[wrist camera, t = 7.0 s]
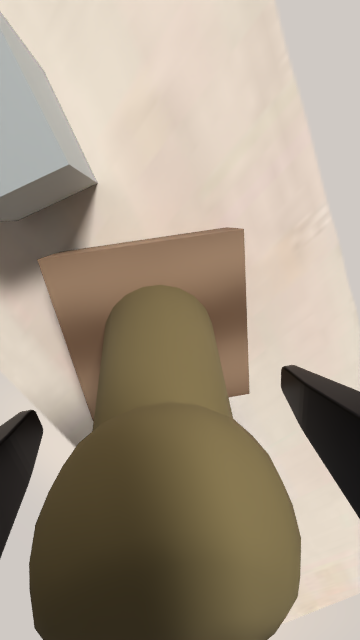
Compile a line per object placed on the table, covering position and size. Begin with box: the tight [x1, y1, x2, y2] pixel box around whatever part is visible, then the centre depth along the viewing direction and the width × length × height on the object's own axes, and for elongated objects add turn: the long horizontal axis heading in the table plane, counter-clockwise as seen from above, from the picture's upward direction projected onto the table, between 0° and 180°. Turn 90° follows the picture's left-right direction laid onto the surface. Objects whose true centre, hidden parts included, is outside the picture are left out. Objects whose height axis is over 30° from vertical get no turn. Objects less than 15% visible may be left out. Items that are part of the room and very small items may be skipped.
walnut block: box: [37, 228, 249, 421], centre depth 15 cm, size 10×10×3 cm
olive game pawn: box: [29, 285, 301, 640], centre depth 9 cm, size 6×6×11 cm
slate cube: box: [0, 12, 97, 221], centre depth 10 cm, size 5×5×5 cm
